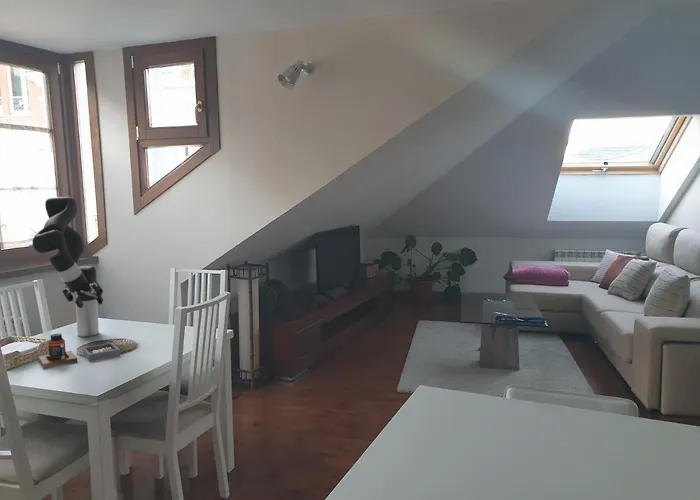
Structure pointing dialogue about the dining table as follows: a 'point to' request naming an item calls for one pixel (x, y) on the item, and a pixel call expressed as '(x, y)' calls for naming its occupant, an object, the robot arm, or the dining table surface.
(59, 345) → the supplement bottle
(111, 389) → the dining table surface
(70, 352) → the walnut holder
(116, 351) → the parts tray
